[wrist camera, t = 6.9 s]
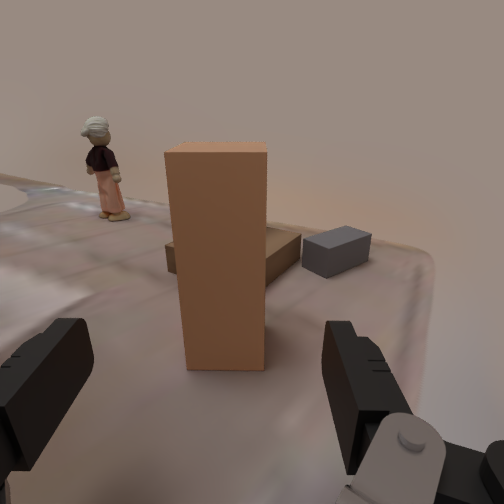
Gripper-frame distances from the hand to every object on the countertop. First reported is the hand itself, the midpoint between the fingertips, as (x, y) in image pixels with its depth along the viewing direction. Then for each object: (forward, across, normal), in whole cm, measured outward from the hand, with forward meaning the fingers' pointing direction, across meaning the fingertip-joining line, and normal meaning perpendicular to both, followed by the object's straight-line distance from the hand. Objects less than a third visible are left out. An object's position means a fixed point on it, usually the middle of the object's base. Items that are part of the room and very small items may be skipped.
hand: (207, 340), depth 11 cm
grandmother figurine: (+35, -18, -7) cm, 40 cm away
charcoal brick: (+20, +9, -7) cm, 23 cm away
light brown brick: (+8, 0, -6) cm, 10 cm away
